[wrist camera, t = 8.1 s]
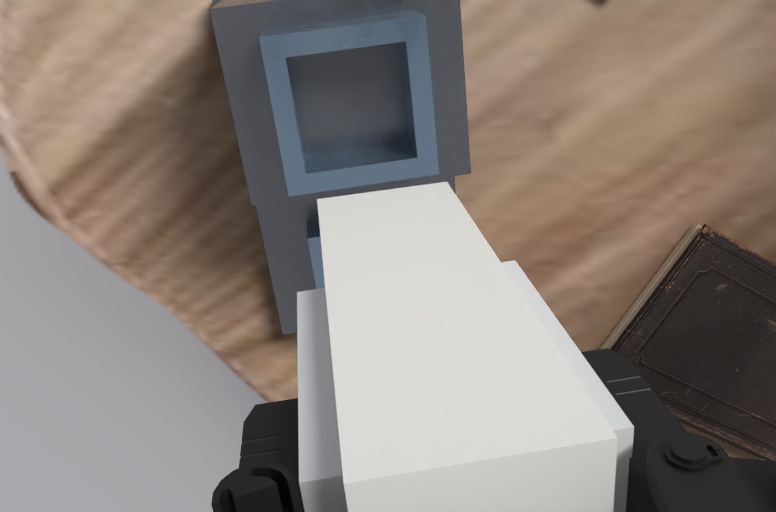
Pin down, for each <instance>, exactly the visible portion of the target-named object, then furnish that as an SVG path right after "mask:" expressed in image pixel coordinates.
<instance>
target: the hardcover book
mask: <svg viewBox="0 0 776 512" xmlns="http://www.w3.org/2000/svg"><path fill="white" fill-rule="evenodd" d="M605 348H609V349H611V350H612V351H614V352H616V353H617V354H619V355H621V356H622V357H624V358H626V359H628V360H629V362H630V363H631V364H632V365H633V366H634V368H635V369H636V370H637V371H638V373H639V374H640V377H641V378H643V379H644V380H645V381H646V382H647V384H648V385H649V386H650V389H651V390H653V391H654V392H655V393H656V395H657V396H658V397H659V398H660V399H661V401H662V402H663V403H664V404H665V406H666V407H667V408H668V409H669V410H670V412H671V413H672V414H673V415H674V417H675V418H676V419H677V420H678V421H680V422H682V423H684V424H686V425H689V426H691V427H693V428H695V429H698V430H700V431H702V432H704V433H707V434H709V435H711V436H713V437H715V438H718V439H720V440H722V441H724V442H727V443H729V444H731V445H733V446H736V447H738V448H740V449H742V450H744V451H747V452H749V453H751V454H753V455H756V456H758V457H760V458H762V459H765V460H767V461H776V265H775V264H773V263H771V262H770V261H768V260H766V259H764V258H763V257H761V256H759V255H757V254H756V253H754V252H752V251H750V250H749V249H747V248H745V247H744V246H742V245H740V244H738V243H737V242H735V241H733V240H731V239H730V238H728V237H726V236H724V235H723V234H721V233H719V232H718V231H716V230H714V229H712V228H711V227H709V226H707V225H705V224H704V225H703V227H701V226H699V225H697V224H695V223H694V224H693V225H692V226H691V228H690V229H689V230H688V232H687V233H686V234H685V236H684V237H683V238H682V240H681V241H680V242H679V244H678V245H677V246H676V248H675V249H674V250H673V252H672V253H671V254H670V256H669V257H668V258H667V260H666V261H665V262H664V264H663V265H662V266H661V268H660V269H659V270H658V272H657V273H656V274H655V276H654V277H653V278H652V280H651V281H650V282H649V284H648V285H647V286H646V288H645V289H644V290H643V292H642V293H641V294H640V296H639V297H638V298H637V300H636V301H635V302H634V304H633V305H632V306H631V308H630V309H629V310H628V312H627V313H626V314H625V316H624V317H623V318H622V320H621V321H620V322H619V324H618V325H617V326H616V328H615V329H614V330H613V332H612V333H611V334H610V336H609V337H608V338H607V340H606V341H605V342H604V344H603V345H602V346H601V348H600V349H605Z"/></svg>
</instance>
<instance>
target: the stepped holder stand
mask: <svg viewBox="0 0 776 512" xmlns="http://www.w3.org/2000/svg"><path fill="white" fill-rule="evenodd" d="M213 5H214V6H213V7H212V8H210V9H209V10H210V14H211V19H212V24H213V28H214V33H215V38H216V42H217V47H218V52H219V56H220V61H221V66H222V70H223V75H224V80H225V85H226V89H227V94H228V99H229V103H230V108H231V113H232V117H233V122H234V127H235V131H236V136H237V141H238V145H239V150H240V155H241V160H242V164H243V169H244V174H245V178H246V183H247V188H248V192H249V197H250V202H251V206H256V210H257V214H258V219H259V224H260V229H261V233H262V238H263V243H264V248H265V252H266V257H267V262H268V267H269V271H270V276H271V281H272V286H273V290H274V295H275V300H276V305H277V309H278V314H279V319H280V324H281V328H282V333H283V335H286V334H292V333H297V292H301V291H307V290H314V289H321V288H325V280H324V269H323V259H322V248H321V237H320V226H319V216H318V205H317V199H322V198H329V197H336V196H344V195H351V194H359V193H366V192H374V191H381V190H388V189H396V188H403V187H411V186H418V185H425V184H433V183H440V182H448V184H449V185H450V187H451V188H452V190H453V191H454V193H455V194H456V192H455V178H454V176H457V175H464V174H470V173H471V168H470V152H469V136H468V120H467V104H466V89H465V73H464V57H463V41H462V26H461V10H460V0H213Z"/></svg>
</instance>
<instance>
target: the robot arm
mask: <svg viewBox="0 0 776 512" xmlns="http://www.w3.org/2000/svg"><path fill="white" fill-rule="evenodd" d="M501 263H502V265H503V266H504V268H505V269H506V271H507V272H508V274H509V275H510V277H511V278H512V280H513V281H514V283H515V284H516V286H517V287H518V289H519V290H520V292H521V293H522V295H523V296H524V298H525V299H526V301H527V302H528V304H529V305H530V307H531V308H532V310H533V311H534V313H535V314H536V316H537V317H538V319H539V320H540V322H541V323H542V325H543V326H544V328H545V329H546V331H547V332H548V334H549V335H550V337H551V338H552V340H553V341H554V343H555V344H556V346H557V347H558V349H559V350H560V352H561V353H562V355H563V356H564V358H565V359H566V361H567V362H568V364H569V365H570V367H571V368H572V370H573V371H574V373H575V374H576V376H577V377H578V379H579V380H580V382H581V383H582V385H583V386H584V388H585V389H586V391H587V392H588V394H589V395H590V397H591V398H592V400H593V401H594V403H595V404H596V406H597V407H598V409H599V410H600V412H601V413H602V415H603V416H604V418H605V419H606V421H607V422H608V424H609V425H610V427H611V428H612V430H613V431H614V433H615V434H616V436H617V437H618V442H617V458H616V475H615V491H614V508H613V512H776V461H765V460H751V459H741V458H734V457H729V456H728V454H727V453H726V452H725V451H724V450H723V449H722V447H721V446H720V445H718V444H717V443H715V442H713V441H712V440H710V439H709V438H707V437H704V436H701V435H698V434H695V433H692V432H687V431H686V430H685V429H684V428H683V426H682V425H681V424H680V423H679V421H678V420H677V419H676V418H675V417H674V415H673V414H672V413H671V412H670V410H669V409H668V408H667V407H666V406H665V404H664V403H663V402H662V401H661V399H660V398H659V397H658V396H657V395H656V393H655V392H654V391H653V390H651V389H650V386H649V385H648V384H647V382H646V381H645V380H644V379H643V378H641V377H640V374H639V373H638V371H637V370H636V369H635V368H634V366H633V365H632V364H631V363H630V362H629V360H628V359H626V358H624V357H622V356H621V355H619V354H617V353H616V352H614V351H612V350H611V349H609V348H605V349H599V350H593V351H586V352H580V350H579V349H578V348H577V346H576V345H575V343H574V342H573V341H572V339H571V338H570V336H569V335H568V334H567V332H566V331H565V329H564V328H563V327H562V325H561V324H560V322H559V321H558V320H557V318H556V317H555V315H554V314H553V313H552V311H551V310H550V309H549V307H548V306H547V304H546V303H545V302H544V300H543V299H542V297H541V296H540V295H539V293H538V292H537V290H536V289H535V288H534V286H533V285H532V283H531V282H530V281H529V279H528V278H527V276H526V275H525V274H524V272H523V271H522V269H521V268H520V267H519V265H518V264H517V262H516V261H508V262H501ZM297 341H298V398H297V399H290V400H284V401H277V402H271V403H265V404H259V405H255V406H254V408H253V409H252V411H251V412H250V414H249V415H248V417H247V418H246V420H245V421H244V426H243V434H242V445H241V454H240V455H241V459H240V464H239V469H236V470H234V471H232V472H231V473H230V474H229V475H227V476H226V477H225V478H224V479H222V480H221V481H220V483H219V484H218V486H217V487H216V489H215V491H214V492H213V498H212V508H213V512H348V508H347V502H346V496H345V489H344V483H343V472H342V462H341V451H340V440H339V430H338V419H337V408H336V398H335V387H334V376H333V366H332V355H331V344H330V333H329V323H328V312H327V301H326V291H325V288H321V289H314V290H307V291H301V292H297Z"/></svg>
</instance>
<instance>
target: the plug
mask: <svg viewBox="0 0 776 512" xmlns="http://www.w3.org/2000/svg"><path fill="white" fill-rule="evenodd" d="M317 205H318V216H319V226H320V237H321V248H322V259H323V269H324V280H325V291H326V301H327V312H328V323H329V333H330V344H331V355H332V366H333V376H334V387H335V398H336V408H337V419H338V430H339V440H340V451H341V462H342V472H343V483H344V489H345V496H346V502H347V508H348V512H613V508H614V491H615V475H616V458H617V442H618V437H617V436H616V434H615V433H614V431H613V430H612V428H611V427H610V425H609V424H608V422H607V421H606V419H605V418H604V416H603V415H602V413H601V412H600V410H599V409H598V407H597V406H596V404H595V403H594V401H593V400H592V398H591V397H590V395H589V394H588V392H587V391H586V389H585V388H584V386H583V385H582V383H581V382H580V380H579V379H578V377H577V376H576V374H575V373H574V371H573V370H572V368H571V367H570V365H569V364H568V362H567V361H566V359H565V358H564V356H563V355H562V353H561V352H560V350H559V349H558V347H557V346H556V344H555V343H554V341H553V340H552V338H551V337H550V335H549V334H548V332H547V331H546V329H545V328H544V326H543V325H542V323H541V322H540V320H539V319H538V317H537V316H536V314H535V313H534V311H533V310H532V308H531V307H530V305H529V304H528V302H527V301H526V299H525V298H524V296H523V295H522V293H521V292H520V290H519V289H518V287H517V286H516V284H515V283H514V281H513V280H512V278H511V277H510V275H509V274H508V272H507V271H506V269H505V268H504V266H503V265H502V263H501V262H500V260H499V259H498V257H497V256H496V254H495V253H494V251H493V250H492V248H491V247H490V245H489V244H488V242H487V241H486V239H485V238H484V236H483V235H482V233H481V232H480V230H479V229H478V227H477V226H476V224H475V223H474V221H473V220H472V218H471V217H470V215H469V214H468V212H467V211H466V209H465V208H464V206H463V205H462V203H461V202H460V200H459V199H458V197H457V196H456V194H455V193H454V191H453V190H452V188H451V187H450V185H449V184H448V182H440V183H433V184H425V185H418V186H411V187H403V188H396V189H388V190H381V191H374V192H366V193H359V194H351V195H344V196H336V197H329V198H322V199H317Z"/></svg>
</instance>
